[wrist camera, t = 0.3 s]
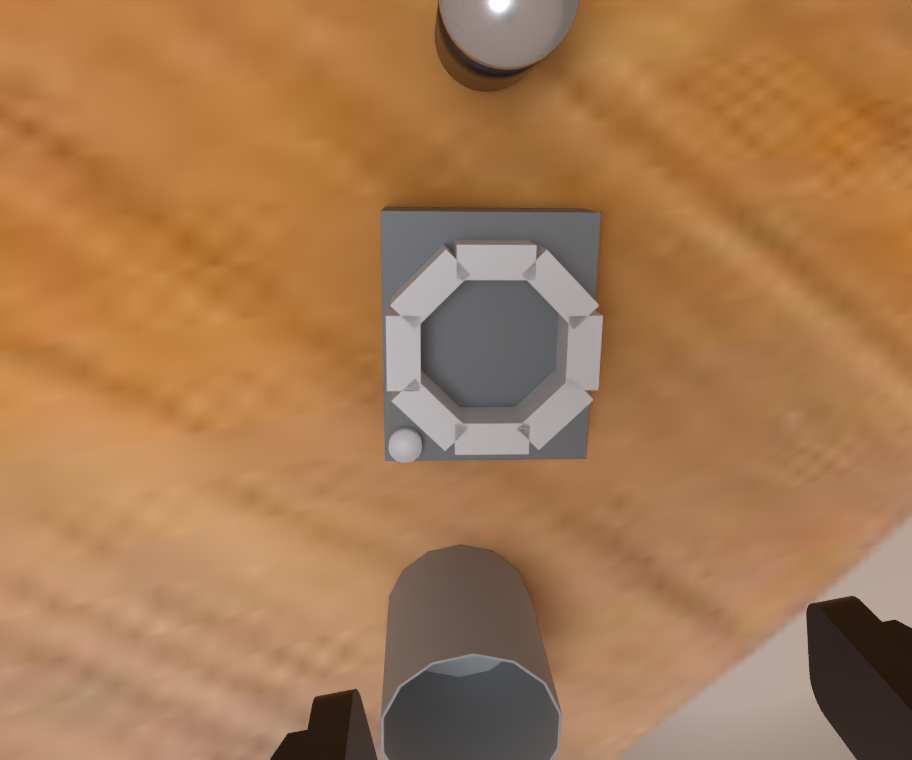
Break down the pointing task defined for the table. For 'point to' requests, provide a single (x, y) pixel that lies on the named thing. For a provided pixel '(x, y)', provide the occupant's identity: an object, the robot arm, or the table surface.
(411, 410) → the grey block with ring
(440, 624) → the cup
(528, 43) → the lens
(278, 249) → the table surface
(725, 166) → the table surface
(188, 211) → the table surface
